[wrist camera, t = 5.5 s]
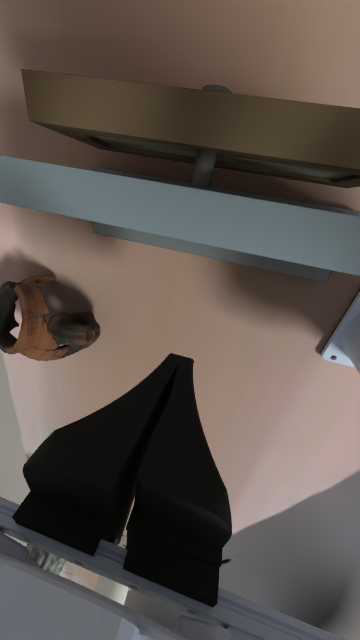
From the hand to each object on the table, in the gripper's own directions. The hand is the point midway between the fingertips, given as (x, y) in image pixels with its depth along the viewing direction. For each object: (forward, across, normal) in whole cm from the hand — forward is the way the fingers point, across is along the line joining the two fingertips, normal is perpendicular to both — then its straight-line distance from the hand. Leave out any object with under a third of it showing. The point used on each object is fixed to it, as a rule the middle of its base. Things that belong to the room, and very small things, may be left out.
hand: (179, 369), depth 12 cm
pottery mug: (+11, +15, +6) cm, 19 cm away
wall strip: (+10, +1, -7) cm, 12 cm away
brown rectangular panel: (+8, +1, -10) cm, 13 cm away
